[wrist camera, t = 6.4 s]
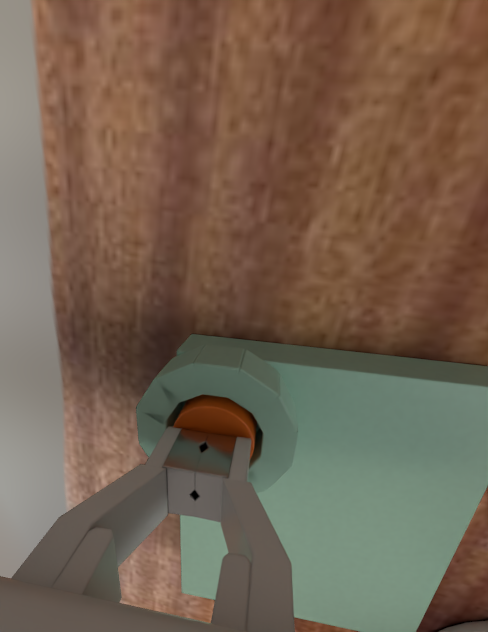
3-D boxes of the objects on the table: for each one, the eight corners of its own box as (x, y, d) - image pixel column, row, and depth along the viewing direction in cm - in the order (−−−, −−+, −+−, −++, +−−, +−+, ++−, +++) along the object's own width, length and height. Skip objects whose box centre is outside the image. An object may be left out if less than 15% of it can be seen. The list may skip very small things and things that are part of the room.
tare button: (186, 377, 10) (170, 401, 8) (260, 386, 10) (257, 413, 8) (186, 436, 11) (172, 467, 9) (254, 447, 11) (251, 481, 9)
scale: (171, 322, 12) (130, 355, 8) (494, 356, 10) (597, 412, 7) (177, 552, 17) (153, 629, 13) (395, 595, 15) (427, 694, 12)
